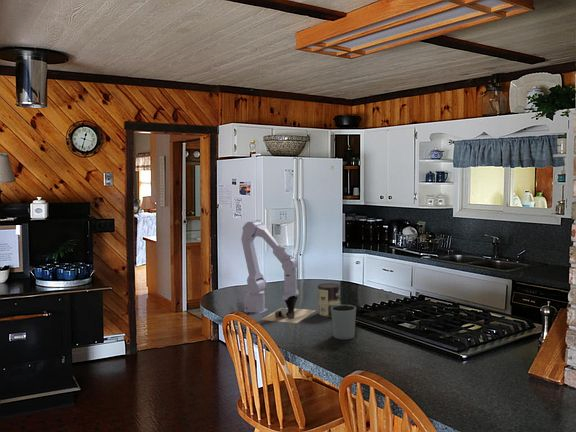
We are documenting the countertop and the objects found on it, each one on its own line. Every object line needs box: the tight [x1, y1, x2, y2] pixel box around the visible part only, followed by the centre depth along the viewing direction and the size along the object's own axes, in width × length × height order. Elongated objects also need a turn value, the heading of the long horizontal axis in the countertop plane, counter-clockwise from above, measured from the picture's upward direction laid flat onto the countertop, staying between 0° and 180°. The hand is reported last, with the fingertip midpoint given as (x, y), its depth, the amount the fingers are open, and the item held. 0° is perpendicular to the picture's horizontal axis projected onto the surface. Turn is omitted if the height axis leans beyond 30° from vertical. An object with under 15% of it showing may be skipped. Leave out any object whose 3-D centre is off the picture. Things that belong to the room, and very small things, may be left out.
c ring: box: [274, 310, 295, 319], centre depth 264 cm, size 7×9×2 cm
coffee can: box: [317, 282, 341, 319], centre depth 267 cm, size 10×10×14 cm
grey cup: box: [331, 304, 357, 340], centre depth 233 cm, size 10×10×12 cm
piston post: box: [280, 306, 288, 318], centre depth 263 cm, size 3×3×4 cm
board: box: [260, 307, 317, 324], centre depth 267 cm, size 18×24×1 cm
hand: (291, 311), depth 270 cm, fingers closed
